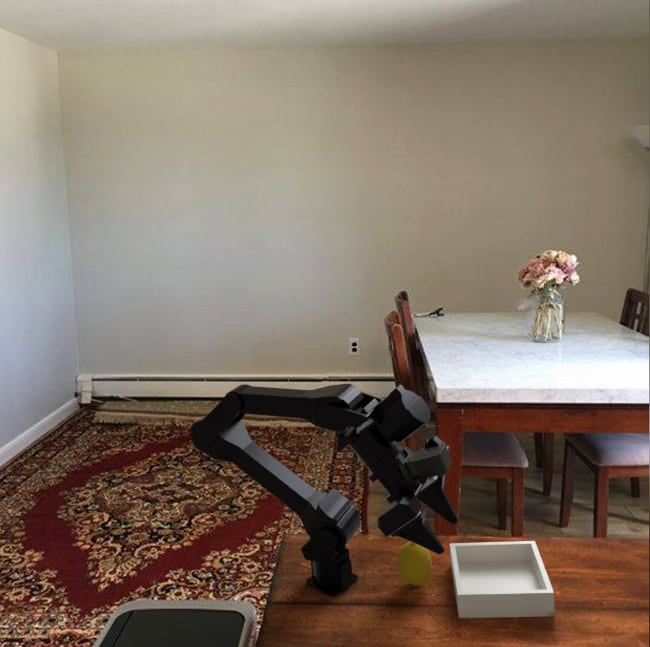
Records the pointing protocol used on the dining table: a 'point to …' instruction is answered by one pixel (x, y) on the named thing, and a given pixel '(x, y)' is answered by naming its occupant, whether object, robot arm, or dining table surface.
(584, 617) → the dining table surface
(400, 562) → the lemon
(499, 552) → the box
